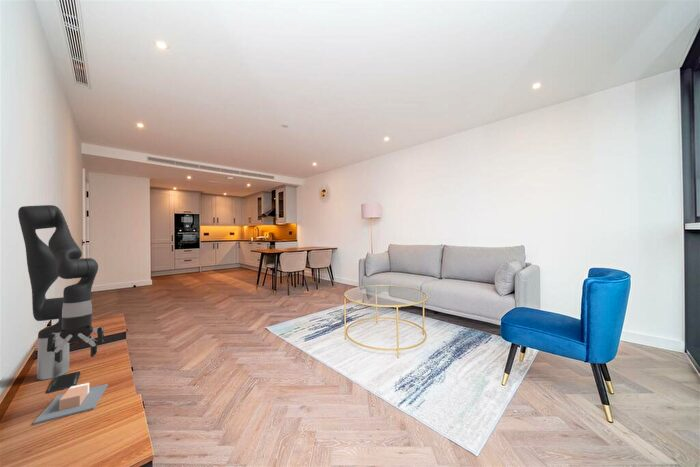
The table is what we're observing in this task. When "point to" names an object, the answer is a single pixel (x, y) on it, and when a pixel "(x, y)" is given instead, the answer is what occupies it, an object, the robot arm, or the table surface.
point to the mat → (86, 405)
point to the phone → (64, 382)
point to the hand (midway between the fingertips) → (76, 358)
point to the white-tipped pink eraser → (74, 396)
